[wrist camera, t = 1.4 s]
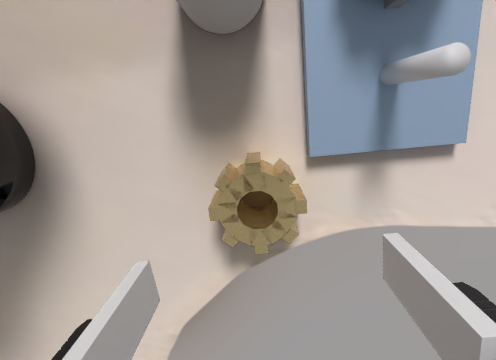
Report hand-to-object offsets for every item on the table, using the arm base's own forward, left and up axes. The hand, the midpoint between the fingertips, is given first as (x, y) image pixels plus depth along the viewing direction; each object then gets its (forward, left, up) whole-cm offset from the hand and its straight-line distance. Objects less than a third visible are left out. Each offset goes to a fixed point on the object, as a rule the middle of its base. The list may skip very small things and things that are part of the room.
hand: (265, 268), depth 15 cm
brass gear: (-1, -1, -17) cm, 17 cm away
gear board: (+13, +16, -17) cm, 27 cm away
